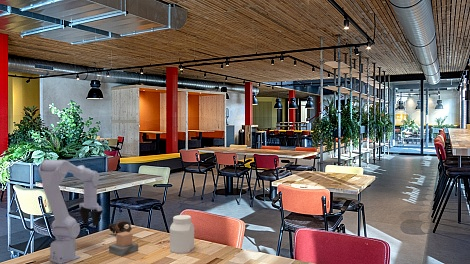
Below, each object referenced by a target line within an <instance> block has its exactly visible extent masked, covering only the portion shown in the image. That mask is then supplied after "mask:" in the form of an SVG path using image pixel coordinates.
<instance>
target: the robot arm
mask: <svg viewBox="0 0 470 264" xmlns="http://www.w3.org/2000/svg"><path fill="white" fill-rule="evenodd" d="M38 173H39V175H40V178H41V184H42V188H43V191H44V194H45V196H46V199H47V202H48V204H49V207H50V209H51V211H52V215H53V217H54V220H53V221H52V222H51V228H52V235H53V236H54V237H55V240H54V241H52V242H51V243H50V247H49V251H50V252H49V253H50V254H49V256H50V258H49V259H48V260H49V261H50V262H53V263H55V264H64V263H67V262H71V261H74V260H76V259H80V258H81V256H80V255H77V252H76V249H77V248H76V239H77V237H78V236H79V235H80V232H81V227H80V224H79V223H78V222H77V220H76V219H75V218H74V217H72V216H71V215H70V213H69V211H68V208H67V205H66V202H65V199H64V197H63V194H62V192H61V191H62V190H61V189H60V186H59V185H60V184H61V183H63V181H64V179H65V178H66V176H67V174H68V173H70V174H72V176H73V177H74V178H76V179H78V180H81V182H82V183H83V202H81V203H79V208H78V210H77V211H78V212H79V214H80V217H81V220H82V224H88V223H89V218H90V216H91V219H92V225H93V227H95V226H98V225H99V221H100V218H101V216H102V214H103V213H104V211H103V207H102V206H101V205H99V203H98V202H97V200H98V193H97V192H98V189H97V188H98V185H99V181H100V174H99V172H98V171H96V170H91V168H89V167H86V166H85V165H84V164H81V165H77V166H76V165H74V164H73V163H71V162H70V161H69V160H65V159H61V160H60V159H43V160H42V161H41V163H40V165H39V166H38ZM89 215H90V216H89Z"/></svg>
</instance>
